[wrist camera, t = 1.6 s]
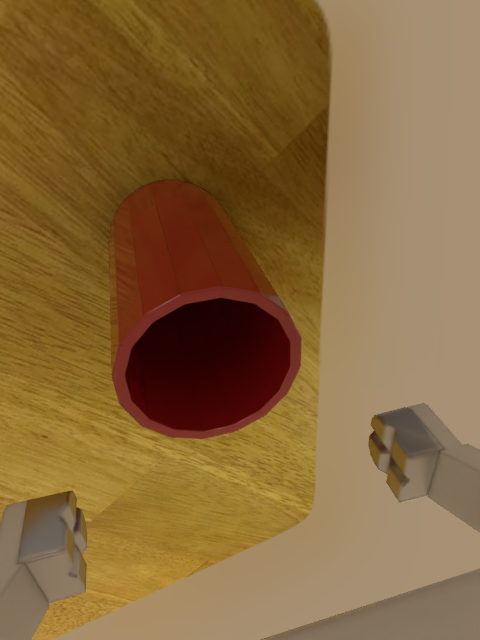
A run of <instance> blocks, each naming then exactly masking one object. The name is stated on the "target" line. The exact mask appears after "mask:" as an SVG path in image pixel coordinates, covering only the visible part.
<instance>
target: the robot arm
mask: <svg viewBox="0 0 480 640" xmlns="http://www.w3.org/2000/svg"><path fill="white" fill-rule="evenodd" d="M371 426H372V428H373V429H374V431H373V433H372V434H371V435H370V437H369V449H370V454H371V456H372V459H373V461H374V463H375V465H376V466H377V468H378V469H379V470H381V471H383V472H384V473H386V474H387V484H388V485H389V487H390V488H391V490H392V492H393V493H394V495H395V496H396V498H397V499H398V501H399V502H403V501H407V500H411V499H415V498H419V497H422V496H427V495H428V497H429V498H430V499H432V500H433V501H435V502H436V503H437V504H439V505H440V506H442V507H443V508H445V509H446V510H448V511H449V512H451V513H452V514H454V515H455V516H456V517H458V518H459V519H461V520H462V521H464V522H465V523H467V524H468V525H470V526H471V527H472V528H474V529H475V530H477V531H478V532H480V449H477V448H475V447H473V446H471V445H469V444H464V445H462V444H461V443H460V441H459V440H458V439H457V438H456V437H455V436H454V435H453V434H452V432H451V431H450V430H449V429H448V428H447V427H446V426H445V424H444V423H443V422H442V421H441V420H440V419H439V418H438V417H437V415H436V414H435V413H434V412H433V411H432V410H431V408H429V406H428V405H426V404H424V403H422V404H418V405H415V406H410V407H407V408H401V409H397V410H393V411H389V412H385V413H382V414H378V415H374V417H373V418H372V422H371ZM76 502H77V498H76V496H75V494H74V492H73V491H67V492H63V493H58V494H54V495H49V496H45V497H40V498H36V499H31V500H27V501H23V502H18V503H14V504H10V505H7V507H6V508H5V510H4V512H3V517H2V522H1V526H0V640H31V639H32V637H33V635H34V634H35V632H36V630H37V628H38V626H39V624H40V622H41V621H42V619H43V617H44V615H45V613H46V611H47V609H48V608H49V603H52V602H55V601H58V600H61V599H65V598H68V597H71V596H74V595H77V594H81V593H84V592H86V563H85V560H84V558H83V556H82V554H83V553H84V551H85V550H86V548H87V530H86V522H85V518H84V515H83V512H82V510H81V509H79V508H77V507H76ZM261 640H480V569H477V570H474V571H471V572H468V573H465V574H462V575H459V576H456V577H452V578H450V579H446V580H443V581H440V582H437V583H434V584H431V585H428V586H425V587H422V588H419V589H415V590H412V591H409V592H406V593H403V594H400V595H397V596H394V597H391V598H388V599H385V600H382V601H378V602H376V603H372V604H369V605H366V606H363V607H360V608H357V609H354V610H351V611H348V612H345V613H341V614H338V615H335V616H332V617H329V618H326V619H323V620H320V621H317V622H314V623H311V624H308V625H304V626H301V627H298V628H295V629H292V630H289V631H286V632H283V633H280V634H277V635H273V636H270V637H268V638H264V639H261Z"/></svg>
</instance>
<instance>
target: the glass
mask: <svg viewBox="0 0 480 640" xmlns="http://www.w3.org/2000/svg"><path fill="white" fill-rule="evenodd" d="M109 275H110V321H111V366H112V380H113V383H114V386H115V390H116V393H117V397H118V400H119V403H120V405H121V406H122V407H123V408H124V409H125V410H126V411H127V412H128V413H129V414H130V415H131V416H132V417H133V418H134V419H135V420H136V421H137V422H138V423H139V424H140V425H141V426H143V427H145V428H148V429H150V430H153V431H155V432H158V433H160V434H163V435H165V436H168V437H173V438H193V439H205V438H210V437H214V436H218V435H223V434H227V433H231V432H235V431H238V430H239V429H241V428H243V427H245V426H247V425H249V424H251V423H252V422H254V421H256V420H258V419H260V418H262V417H264V416H265V415H266V414H267V413H268V412H269V411H270V410H271V409H272V408H273V407H274V406H275V405H276V404H277V403H278V402H279V401H280V400H281V399H282V398H283V397H285V396H286V395H287V393H288V392H289V390H290V387H291V385H292V383H293V381H294V379H295V377H296V375H297V373H298V371H299V369H300V366H301V336H300V334H299V332H298V330H297V328H296V326H295V324H294V322H293V320H292V318H291V316H290V315H289V313H288V311H287V309H286V308H285V306H284V305H283V303H282V301H281V300H280V298H279V297H278V295H277V293H276V292H275V290H274V289H273V287H272V285H271V284H270V282H269V281H268V279H267V278H266V276H265V274H264V273H263V271H262V270H261V268H260V266H259V265H258V263H257V262H256V260H255V258H254V257H253V255H252V254H251V252H250V250H249V249H248V247H247V246H246V244H245V242H244V241H243V239H242V238H241V236H240V235H239V233H238V231H237V230H236V228H235V227H234V225H233V223H232V222H231V220H230V219H229V217H228V215H227V214H226V212H225V211H224V209H223V207H222V206H221V204H220V203H219V202H217V200H216V199H215V198H214V197H213V196H212V195H211V194H210V193H208V192H207V191H205V190H204V189H203V188H201V187H199V186H197V185H195V184H192V183H189V182H185V181H180V180H162V181H157V182H153V183H150V184H147V185H145V186H143V187H141V188H139V189H137V190H136V191H134V192H133V193H131V194H130V195H129V196H128V197H127V198H126V199H125V200H124V201H123V202H122V203H121V205H120V206H119V208H118V209H117V211H116V213H115V215H114V217H113V220H112V224H111V229H110V238H109Z"/></svg>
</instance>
